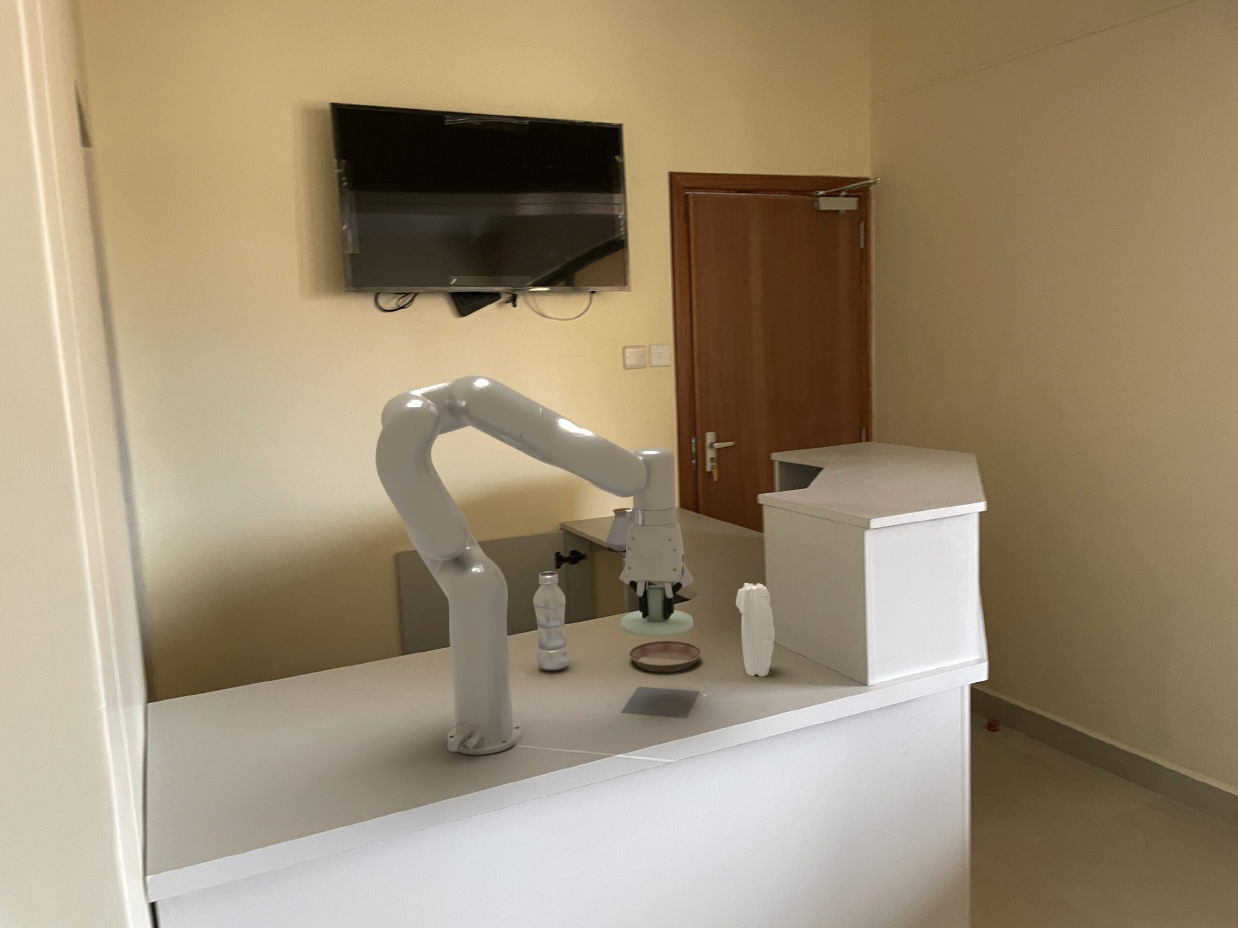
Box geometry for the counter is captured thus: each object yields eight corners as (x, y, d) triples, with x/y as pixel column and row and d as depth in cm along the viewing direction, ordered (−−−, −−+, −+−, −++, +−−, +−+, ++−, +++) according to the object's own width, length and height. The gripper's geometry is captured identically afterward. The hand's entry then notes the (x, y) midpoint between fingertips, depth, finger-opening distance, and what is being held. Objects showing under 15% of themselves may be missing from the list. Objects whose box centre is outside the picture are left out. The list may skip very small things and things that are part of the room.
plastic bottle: (565, 674, 177) (560, 578, 174) (533, 673, 178) (527, 577, 176) (573, 663, 183) (568, 570, 180) (542, 662, 185) (537, 569, 182)
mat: (686, 719, 154) (686, 717, 154) (620, 714, 157) (620, 712, 157) (700, 692, 165) (699, 690, 165) (638, 688, 168) (638, 686, 168)
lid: (684, 639, 151) (684, 599, 150) (612, 634, 155) (611, 595, 154) (699, 616, 163) (698, 579, 162) (632, 612, 167) (631, 576, 166)
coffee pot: (628, 554, 275) (627, 507, 273) (599, 550, 282) (597, 505, 280) (665, 540, 292) (663, 496, 290) (636, 537, 299) (634, 494, 297)
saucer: (647, 648, 191) (646, 636, 191) (711, 656, 184) (711, 644, 184) (617, 672, 178) (616, 659, 178) (685, 682, 171) (685, 668, 171)
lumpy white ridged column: (736, 679, 171) (775, 680, 169) (733, 589, 168) (773, 590, 167) (739, 667, 177) (776, 668, 176) (736, 580, 175) (774, 581, 173)
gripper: (604, 519, 155) (607, 620, 157) (696, 522, 150) (697, 626, 153) (616, 511, 162) (618, 608, 165) (704, 514, 158) (705, 613, 160)
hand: (656, 615), depth 159 cm, fingers closed on lid, 3 cm apart
